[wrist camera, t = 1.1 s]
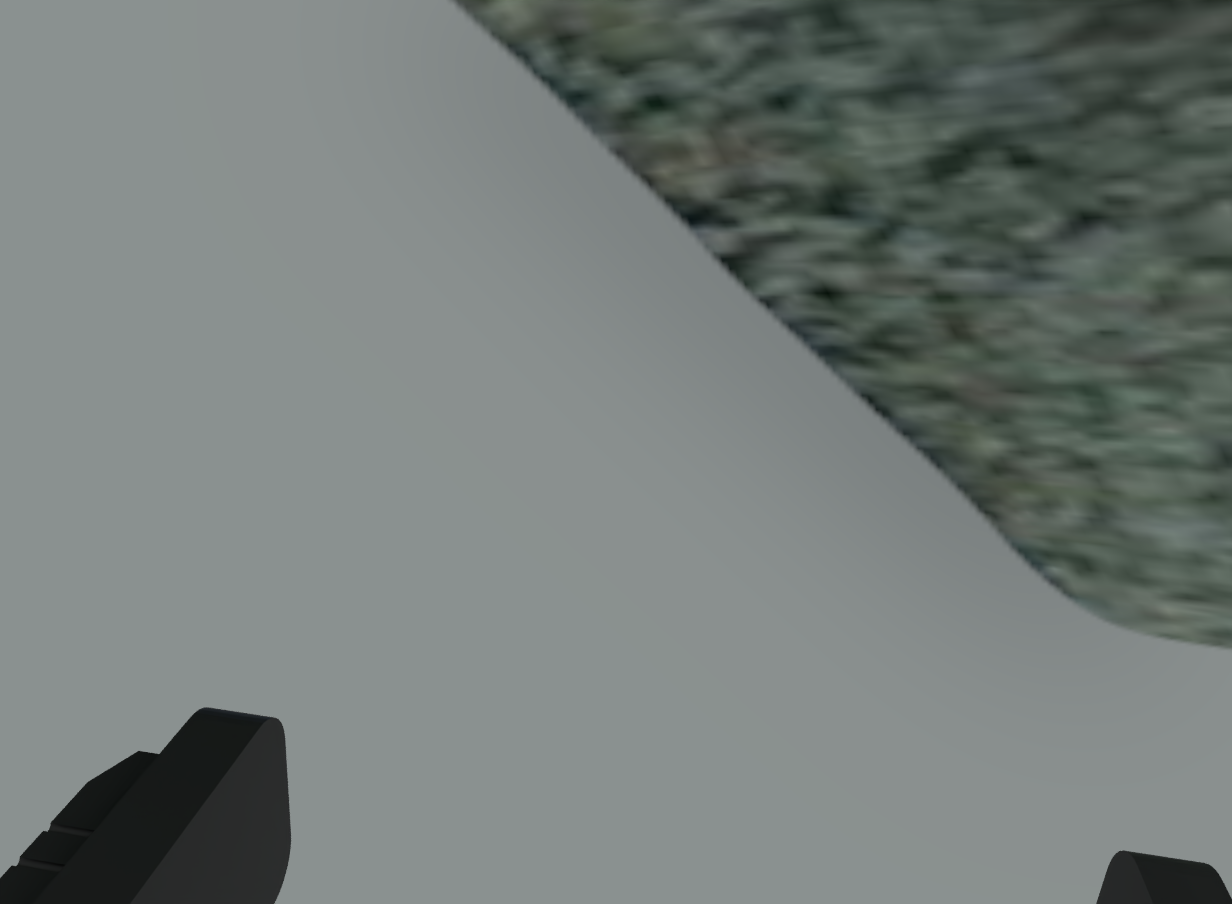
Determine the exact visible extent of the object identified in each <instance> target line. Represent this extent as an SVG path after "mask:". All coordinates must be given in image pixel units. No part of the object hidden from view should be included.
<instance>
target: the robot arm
mask: <svg viewBox="0 0 1232 904" xmlns="http://www.w3.org/2000/svg"><path fill="white" fill-rule="evenodd" d="M288 796H289V795H288V778H287V763H286V746H285V734H284V729H283V726H282V723H281V722H280V721H279V719H277V718H273V717H267V716H260V715H253V714H247V713H240V712H234V711H227V710H221V709H214V708H202V709H200V710H198V711H197V712H195V713H194V714H193V715H192V717H191V718H190V719H189V720H188V721H187V722H186V723H185V724H184V726H183V727H182V728H181V729H180V730H179V732H178V733H177V734H176V735H175V736H174V737H173V739H172V740H171V741H170V742H169V743H168V745H167V746H166V747H165V748H164V749H163V750H162V752H161V753H160V754H155V753H148V752H142V751H138V752H136V753H134V754H133V755H131V756H130V757H128V758H126V759H125V760H123V761H121V762H120V763H118V764H117V765H115V766H113V767H112V768H110V769H108V770H107V771H105V772H103V773H102V774H100V775H99V776H97V777H95V778H94V779H92V780H90V781H89V782H88V783H87V784H85V786H84V787H83V788H82V789H81V790H80V791H79V792H78V793H77V795H76V796H75V797H74V798H73V799H72V800H71V801H70V802H69V803H68V804H67V805H66V806H65V808H64V809H63V810H62V811H61V812H60V813H59V814H58V815H57V816H56V818H55V819H54V820H53V821H52V822H51V826H50V829H49V830H48V832H46V831H43V832H42V833H41V834H40V835H39V836H38V837H37V838H36V840H35V841H34V842H33V843H32V844H31V845H30V846H29V847H28V848H27V849H26V850H25V852H24V853H23V854H22V855H21V856H20V861H19V863H18V865H17V866H11V867H10V868H9V869H8V870H7V872H5V874H4V875H3V876H2V877H1V878H0V904H274V903H275V901H276V899H277V896H278V894H279V892H280V889H281V887H282V884H283V881H284V877H285V874H286V870H287V866H288V861H289V855H290V847H291V846H290V845H291V829H290V812H289V797H288ZM1097 904H1232V899H1231V897H1230V895H1229V893H1228V891H1227V889H1226V887H1225V885H1224V883H1223V881H1222V879H1221V877H1220V876H1219V874H1218V873H1217V871H1216V870H1215V869H1214V868H1213V867H1212V866H1210V865H1209V864H1205V863H1201V862H1194V861H1188V860H1181V859H1175V858H1168V857H1162V856H1155V855H1148V854H1142V853H1135V852H1129V851H1119V852H1118V853H1116V854H1115V855H1114V857H1113V858H1112V860H1111V862H1110V864H1109V866H1108V869H1107V872H1106V875H1105V878H1104V881H1103V884H1102V888H1101V891H1100V894H1099V897H1098V900H1097Z"/></svg>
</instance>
